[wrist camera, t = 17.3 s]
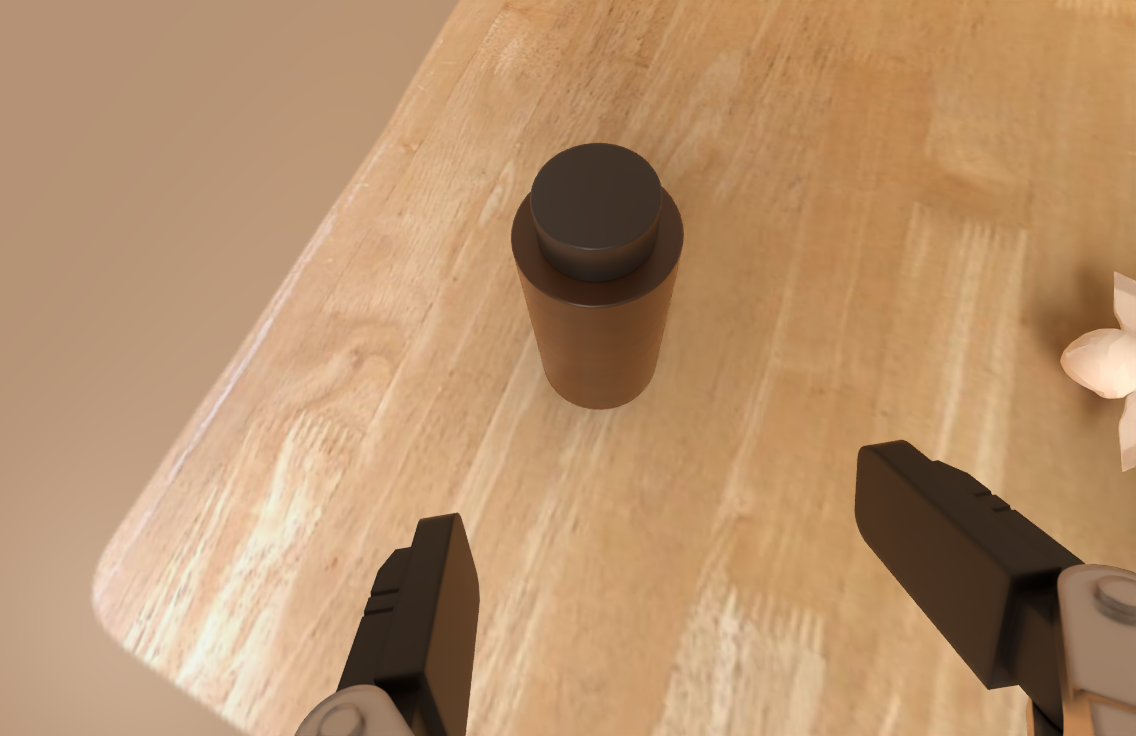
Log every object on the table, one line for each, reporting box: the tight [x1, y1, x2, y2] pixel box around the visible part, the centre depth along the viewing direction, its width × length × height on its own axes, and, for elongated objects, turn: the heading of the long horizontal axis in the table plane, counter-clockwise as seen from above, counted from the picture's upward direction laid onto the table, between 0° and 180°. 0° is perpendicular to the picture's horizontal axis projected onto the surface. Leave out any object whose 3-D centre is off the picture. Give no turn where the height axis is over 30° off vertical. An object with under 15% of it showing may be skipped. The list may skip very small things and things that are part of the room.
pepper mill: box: [511, 143, 684, 409], centre depth 18 cm, size 5×5×10 cm
